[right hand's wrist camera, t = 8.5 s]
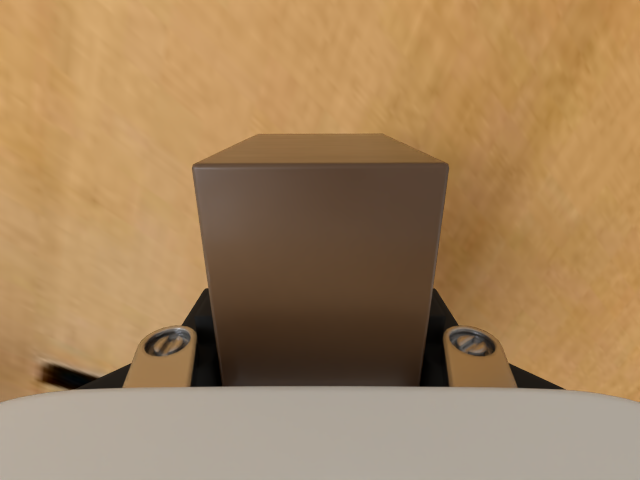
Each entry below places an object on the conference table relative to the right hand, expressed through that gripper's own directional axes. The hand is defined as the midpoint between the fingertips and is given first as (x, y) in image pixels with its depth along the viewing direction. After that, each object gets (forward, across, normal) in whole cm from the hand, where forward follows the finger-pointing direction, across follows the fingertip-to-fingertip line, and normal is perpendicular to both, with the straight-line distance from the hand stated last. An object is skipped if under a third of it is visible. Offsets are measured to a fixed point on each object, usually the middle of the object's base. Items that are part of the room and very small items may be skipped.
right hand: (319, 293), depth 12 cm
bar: (+2, 0, +32) cm, 32 cm away
